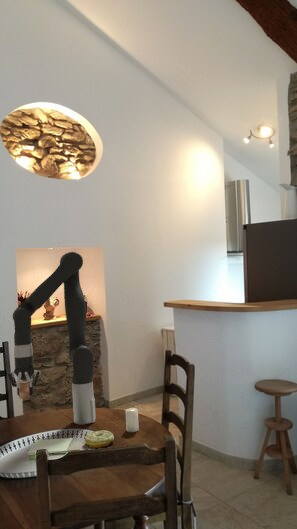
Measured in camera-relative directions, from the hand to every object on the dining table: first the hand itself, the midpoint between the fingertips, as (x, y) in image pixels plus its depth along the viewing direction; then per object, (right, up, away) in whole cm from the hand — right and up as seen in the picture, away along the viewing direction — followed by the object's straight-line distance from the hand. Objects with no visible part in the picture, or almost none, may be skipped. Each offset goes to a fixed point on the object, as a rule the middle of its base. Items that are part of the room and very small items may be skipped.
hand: (25, 395), depth 174 cm
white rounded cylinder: (+45, -12, -5) cm, 47 cm away
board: (+15, -14, -19) cm, 28 cm away
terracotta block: (0, -1, 0) cm, 1 cm away
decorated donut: (+33, -13, -17) cm, 39 cm away
